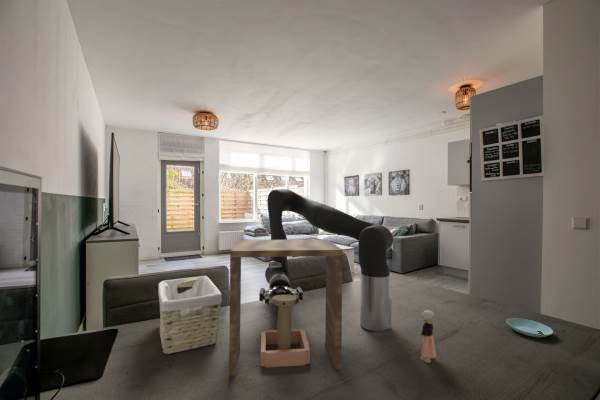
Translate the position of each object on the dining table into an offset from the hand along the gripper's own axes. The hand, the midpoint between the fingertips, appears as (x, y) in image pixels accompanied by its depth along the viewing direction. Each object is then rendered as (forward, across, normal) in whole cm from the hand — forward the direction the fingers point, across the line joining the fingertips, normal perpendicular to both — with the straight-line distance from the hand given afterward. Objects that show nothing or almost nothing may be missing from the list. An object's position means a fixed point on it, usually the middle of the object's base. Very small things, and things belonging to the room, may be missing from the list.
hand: (282, 301), depth 89 cm
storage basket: (-3, -29, +10) cm, 31 cm away
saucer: (+6, +79, +10) cm, 80 cm away
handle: (+11, 0, +10) cm, 15 cm away
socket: (+11, 0, +10) cm, 15 cm away
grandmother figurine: (+17, +38, +10) cm, 43 cm away
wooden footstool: (+11, 0, +10) cm, 15 cm away
